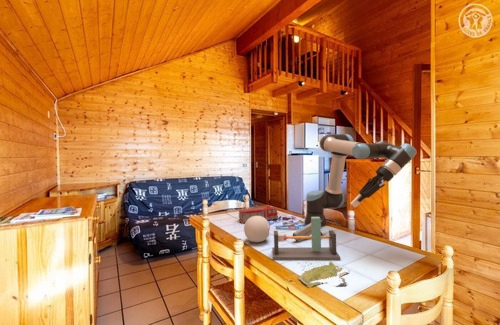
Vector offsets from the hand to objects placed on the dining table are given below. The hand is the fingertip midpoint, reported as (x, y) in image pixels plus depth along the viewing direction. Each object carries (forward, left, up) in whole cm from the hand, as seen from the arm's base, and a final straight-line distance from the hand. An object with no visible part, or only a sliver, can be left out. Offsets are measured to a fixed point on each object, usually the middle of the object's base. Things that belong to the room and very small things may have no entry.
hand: (352, 205), depth 120 cm
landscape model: (+24, +15, -25) cm, 38 cm away
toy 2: (+39, -35, -25) cm, 58 cm away
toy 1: (+25, -78, -25) cm, 86 cm away
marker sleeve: (+17, -6, -22) cm, 28 cm away
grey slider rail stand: (+23, -8, -25) cm, 35 cm away
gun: (+8, -29, -25) cm, 39 cm away
